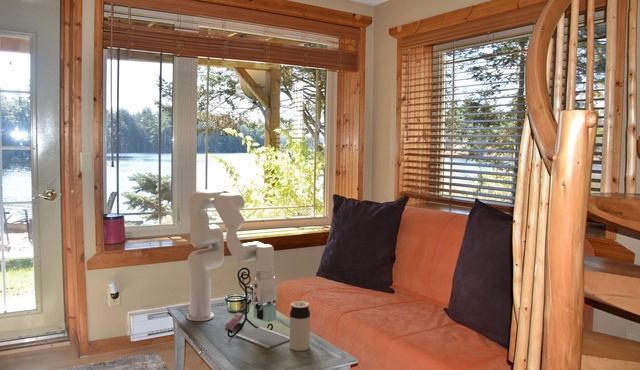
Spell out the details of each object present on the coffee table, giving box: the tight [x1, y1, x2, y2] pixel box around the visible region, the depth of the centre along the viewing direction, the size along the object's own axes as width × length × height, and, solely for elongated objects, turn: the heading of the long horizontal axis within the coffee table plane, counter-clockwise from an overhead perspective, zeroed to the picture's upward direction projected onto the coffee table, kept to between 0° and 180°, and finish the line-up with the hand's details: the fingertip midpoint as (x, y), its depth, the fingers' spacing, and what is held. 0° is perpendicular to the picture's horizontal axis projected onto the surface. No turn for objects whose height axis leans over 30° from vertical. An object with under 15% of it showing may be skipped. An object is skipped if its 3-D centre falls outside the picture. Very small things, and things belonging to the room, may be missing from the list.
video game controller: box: [224, 312, 244, 330], centre depth 248 cm, size 10×5×7 cm, turn 169°
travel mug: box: [289, 300, 311, 352], centre depth 223 cm, size 8×8×18 cm
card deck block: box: [253, 303, 277, 323], centre depth 232 cm, size 4×9×6 cm, turn 47°
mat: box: [235, 326, 290, 350], centre depth 234 cm, size 20×14×1 cm
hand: (264, 317), depth 233 cm, fingers closed on card deck block, 4 cm apart
